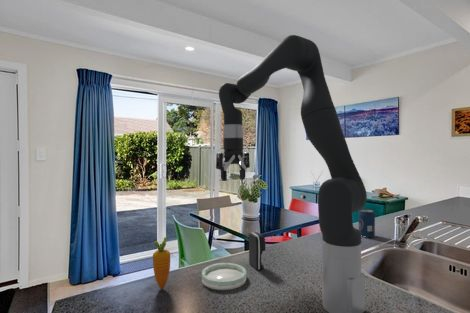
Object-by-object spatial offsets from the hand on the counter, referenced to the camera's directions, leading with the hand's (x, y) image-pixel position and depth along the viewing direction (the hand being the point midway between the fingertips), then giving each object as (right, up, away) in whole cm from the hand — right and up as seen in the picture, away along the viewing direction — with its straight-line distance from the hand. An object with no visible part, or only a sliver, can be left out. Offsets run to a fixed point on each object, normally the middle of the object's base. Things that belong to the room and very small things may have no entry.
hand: (233, 180), depth 107 cm
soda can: (+62, -29, +25) cm, 73 cm away
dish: (-3, -30, -18) cm, 35 cm away
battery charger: (+8, -30, -8) cm, 32 cm away
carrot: (-21, -30, -24) cm, 44 cm away
